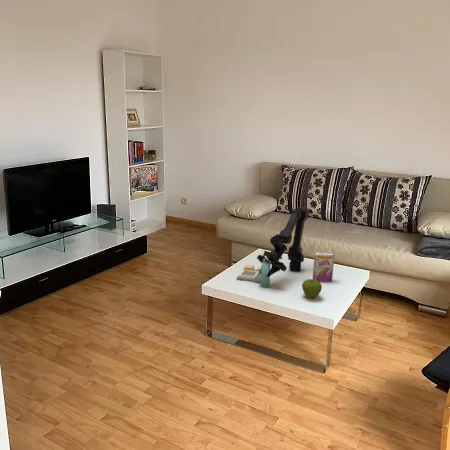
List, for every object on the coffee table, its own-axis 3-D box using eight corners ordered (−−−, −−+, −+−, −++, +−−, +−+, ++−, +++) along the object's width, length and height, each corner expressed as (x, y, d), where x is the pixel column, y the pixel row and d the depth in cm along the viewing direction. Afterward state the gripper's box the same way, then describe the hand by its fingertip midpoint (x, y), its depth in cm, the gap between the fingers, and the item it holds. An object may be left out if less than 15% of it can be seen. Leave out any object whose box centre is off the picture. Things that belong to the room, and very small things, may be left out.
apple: (297, 294, 266) (298, 277, 264) (314, 291, 270) (315, 275, 267) (308, 302, 257) (309, 284, 254) (324, 299, 260) (326, 282, 258)
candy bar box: (313, 281, 285) (314, 255, 280) (312, 278, 289) (314, 252, 285) (332, 282, 284) (334, 256, 279) (331, 279, 288) (333, 253, 284)
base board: (269, 273, 296) (269, 266, 295) (263, 283, 280) (263, 276, 279) (244, 269, 301) (244, 263, 299) (236, 279, 285) (236, 273, 284)
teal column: (270, 285, 278) (271, 262, 274) (268, 288, 274) (269, 265, 270) (261, 283, 280) (262, 261, 276) (259, 287, 275) (260, 264, 271)
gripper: (259, 241, 279) (245, 263, 275) (284, 249, 266) (269, 272, 262) (268, 251, 287) (254, 273, 282) (292, 259, 273) (278, 282, 269)
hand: (263, 275), depth 274 cm, fingers closed on teal column, 5 cm apart
